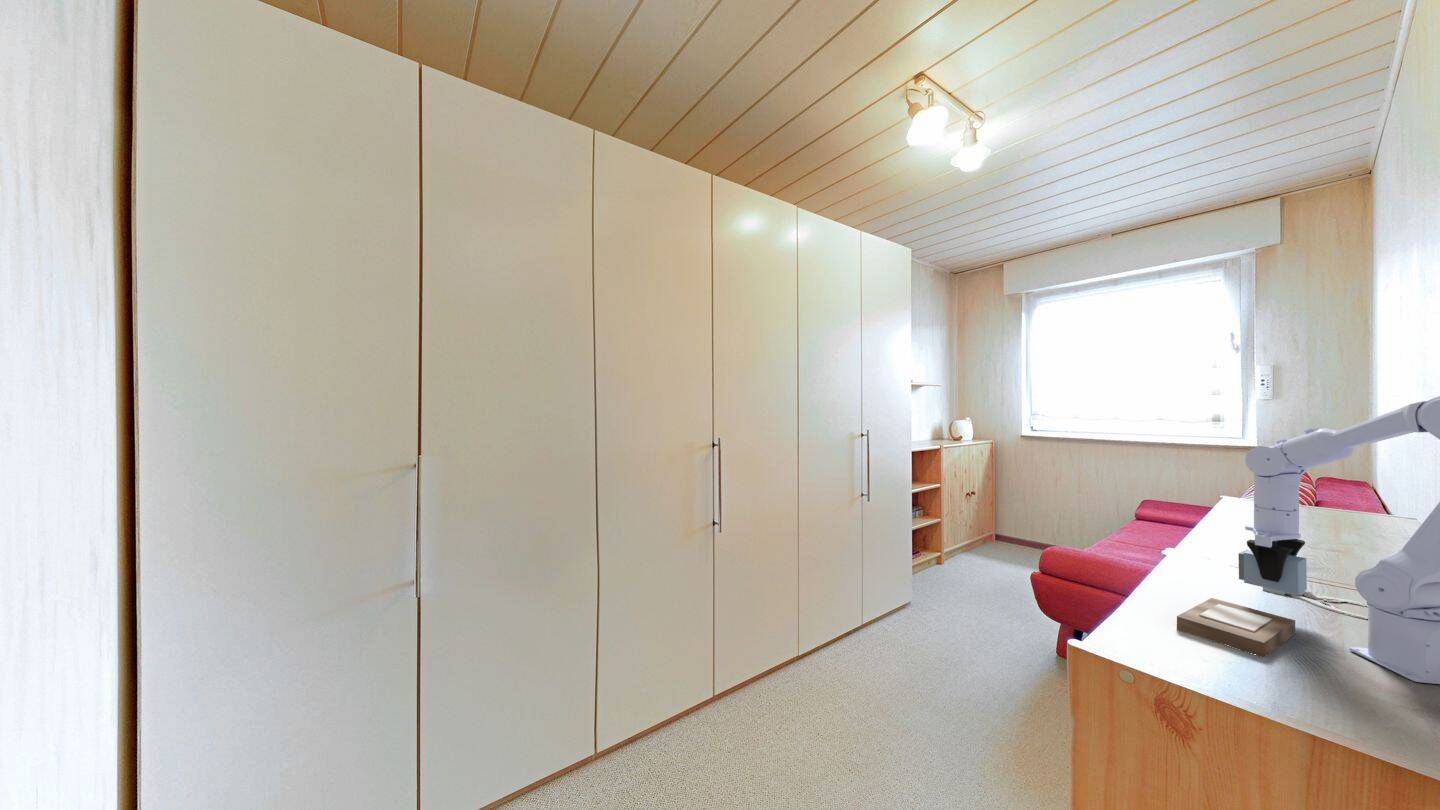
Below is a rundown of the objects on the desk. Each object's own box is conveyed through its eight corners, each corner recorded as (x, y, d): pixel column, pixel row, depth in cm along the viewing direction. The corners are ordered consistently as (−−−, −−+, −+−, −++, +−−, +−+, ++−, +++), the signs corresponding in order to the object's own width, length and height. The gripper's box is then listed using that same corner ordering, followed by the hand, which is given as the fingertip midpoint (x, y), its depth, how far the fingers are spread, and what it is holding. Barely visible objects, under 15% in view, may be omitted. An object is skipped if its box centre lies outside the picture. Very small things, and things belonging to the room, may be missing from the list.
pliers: (1372, 614, 91) (1256, 587, 104) (1371, 623, 91) (1256, 594, 104) (1384, 603, 95) (1272, 578, 108) (1384, 611, 95) (1272, 585, 109)
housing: (1306, 589, 91) (1306, 558, 91) (1298, 595, 89) (1297, 562, 88) (1247, 576, 98) (1247, 547, 98) (1238, 581, 95) (1237, 551, 95)
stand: (1211, 610, 96) (1211, 596, 96) (1295, 633, 86) (1295, 618, 86) (1176, 629, 89) (1176, 614, 89) (1263, 657, 79) (1263, 641, 79)
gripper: (1259, 499, 99) (1258, 564, 100) (1232, 508, 93) (1232, 577, 93) (1312, 506, 93) (1311, 575, 93) (1287, 516, 86) (1287, 590, 87)
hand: (1275, 577), depth 93 cm, fingers closed on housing, 5 cm apart
